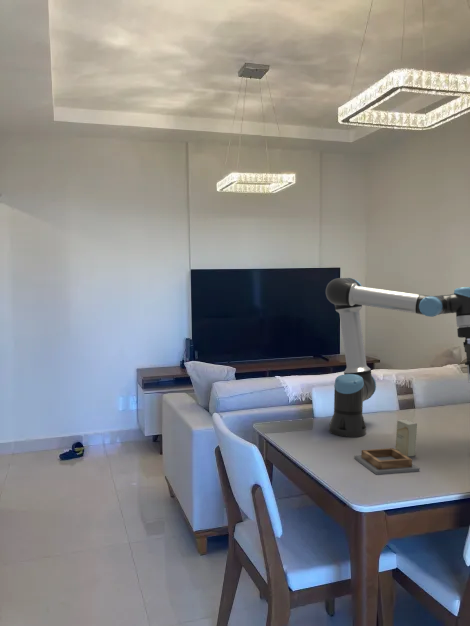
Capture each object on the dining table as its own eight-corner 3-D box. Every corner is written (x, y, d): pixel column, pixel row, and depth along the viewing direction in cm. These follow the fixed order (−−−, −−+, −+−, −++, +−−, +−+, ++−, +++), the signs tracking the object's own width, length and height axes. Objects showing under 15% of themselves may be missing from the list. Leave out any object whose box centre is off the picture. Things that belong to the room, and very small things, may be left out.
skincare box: (395, 452, 202) (396, 419, 201) (404, 450, 203) (405, 418, 202) (406, 457, 196) (407, 424, 195) (416, 455, 198) (417, 423, 197)
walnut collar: (361, 457, 192) (361, 450, 192) (392, 454, 195) (393, 448, 195) (378, 469, 180) (378, 461, 180) (411, 466, 183) (412, 459, 183)
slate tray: (354, 458, 194) (354, 455, 194) (394, 455, 197) (394, 452, 197) (376, 474, 178) (376, 471, 178) (419, 471, 182) (419, 468, 182)
